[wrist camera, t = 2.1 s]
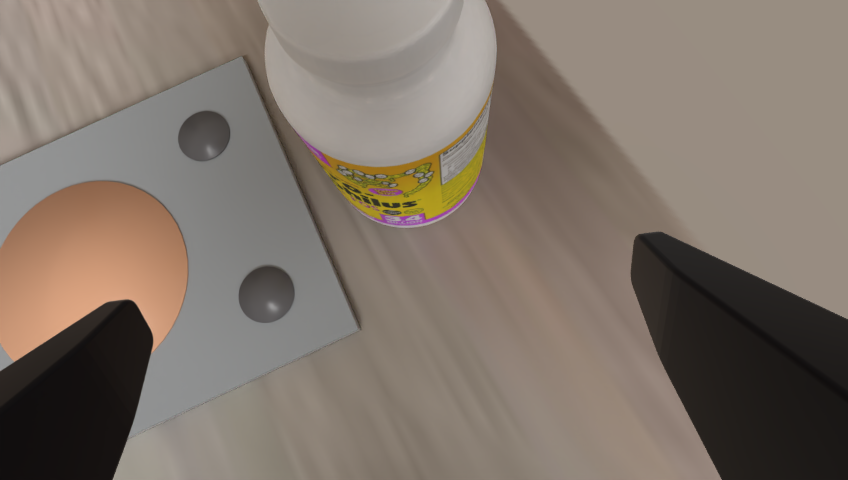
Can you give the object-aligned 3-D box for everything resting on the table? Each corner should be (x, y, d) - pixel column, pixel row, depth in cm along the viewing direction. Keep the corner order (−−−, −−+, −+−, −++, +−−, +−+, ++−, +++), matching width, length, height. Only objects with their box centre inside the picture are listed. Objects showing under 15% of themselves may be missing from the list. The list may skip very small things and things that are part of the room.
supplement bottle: (307, 177, 24) (144, -5, 12) (394, 67, 25) (327, -213, 13) (425, 262, 23) (383, 160, 11) (512, 144, 24) (569, -81, 11)
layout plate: (15, 492, 22) (0, 496, 22) (-61, 202, 25) (-76, 198, 25) (361, 329, 23) (357, 329, 22) (246, 62, 26) (240, 54, 25)
